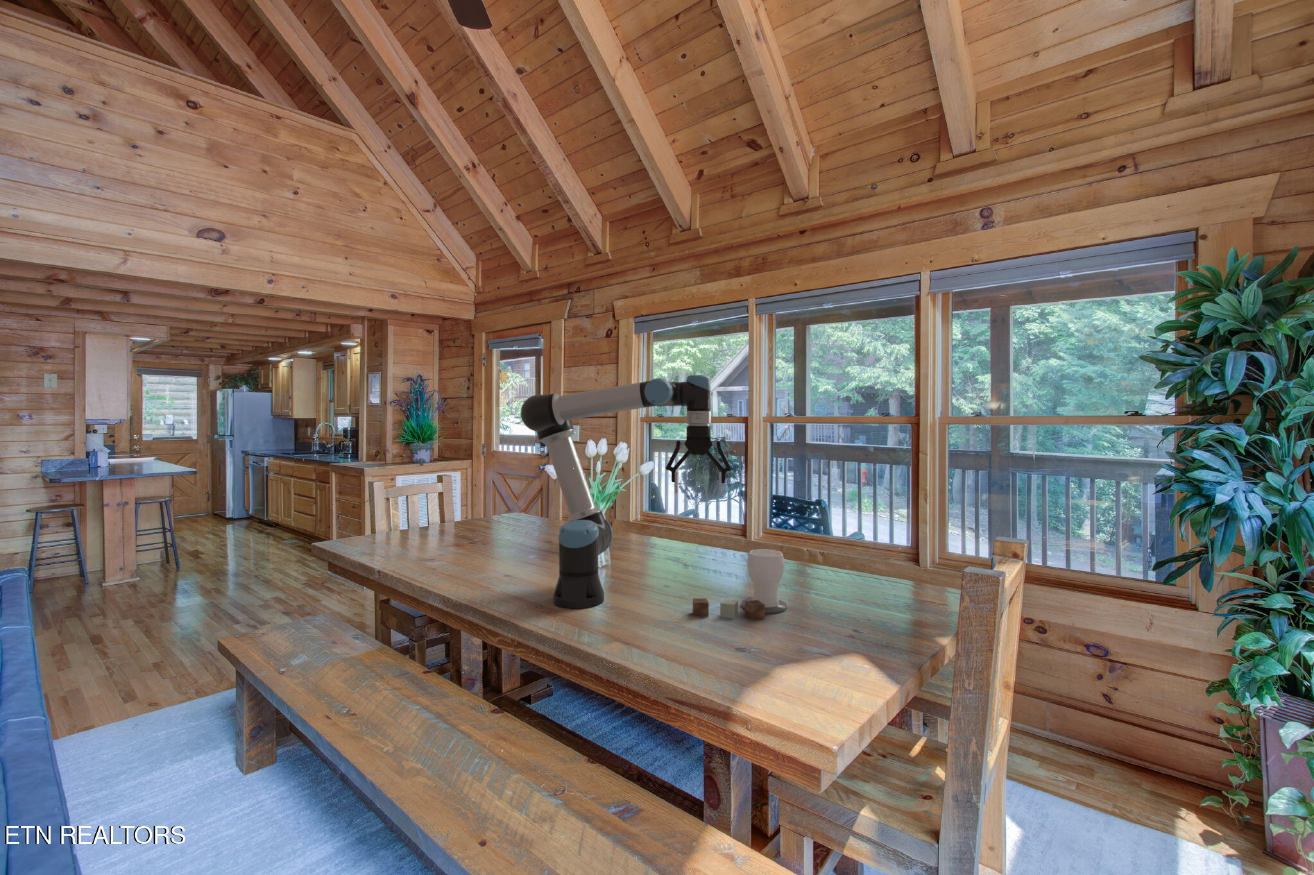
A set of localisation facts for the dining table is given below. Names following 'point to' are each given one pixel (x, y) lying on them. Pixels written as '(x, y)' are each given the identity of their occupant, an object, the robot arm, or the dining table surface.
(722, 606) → the block
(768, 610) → the coaster
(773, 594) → the cup
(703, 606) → the block
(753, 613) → the block
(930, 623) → the dining table surface
